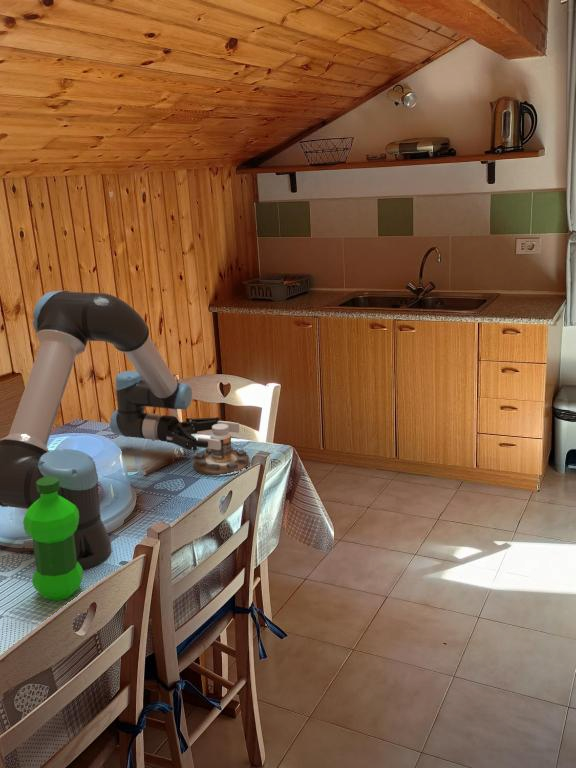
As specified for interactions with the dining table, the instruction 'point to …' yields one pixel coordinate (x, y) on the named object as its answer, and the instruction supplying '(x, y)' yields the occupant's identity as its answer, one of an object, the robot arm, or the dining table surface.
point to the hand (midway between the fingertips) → (229, 436)
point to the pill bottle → (225, 440)
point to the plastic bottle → (53, 541)
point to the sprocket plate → (220, 463)
